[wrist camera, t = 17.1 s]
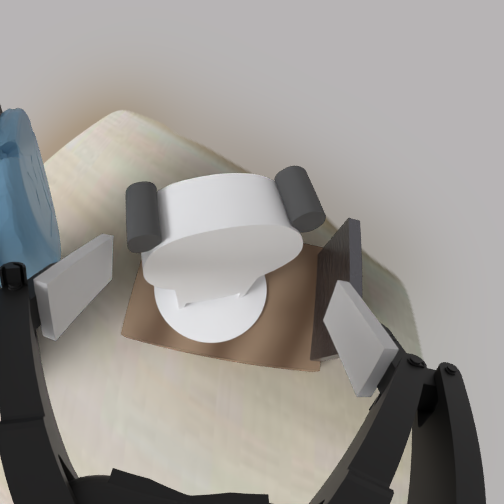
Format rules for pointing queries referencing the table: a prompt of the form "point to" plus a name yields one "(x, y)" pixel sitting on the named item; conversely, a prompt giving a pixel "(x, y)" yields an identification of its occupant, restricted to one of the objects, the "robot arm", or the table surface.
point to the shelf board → (259, 334)
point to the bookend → (328, 272)
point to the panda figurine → (218, 244)
